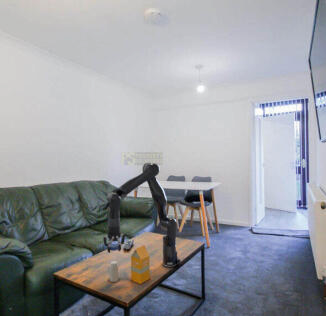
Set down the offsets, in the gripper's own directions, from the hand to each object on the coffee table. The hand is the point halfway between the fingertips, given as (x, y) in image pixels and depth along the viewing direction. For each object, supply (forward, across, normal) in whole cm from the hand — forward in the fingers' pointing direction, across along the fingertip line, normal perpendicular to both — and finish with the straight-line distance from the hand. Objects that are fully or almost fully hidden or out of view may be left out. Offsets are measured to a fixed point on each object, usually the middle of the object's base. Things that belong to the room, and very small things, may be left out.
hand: (114, 251), depth 152 cm
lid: (-3, 0, 0) cm, 3 cm away
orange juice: (+17, +15, -7) cm, 24 cm away
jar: (+17, -1, -1) cm, 17 cm away
